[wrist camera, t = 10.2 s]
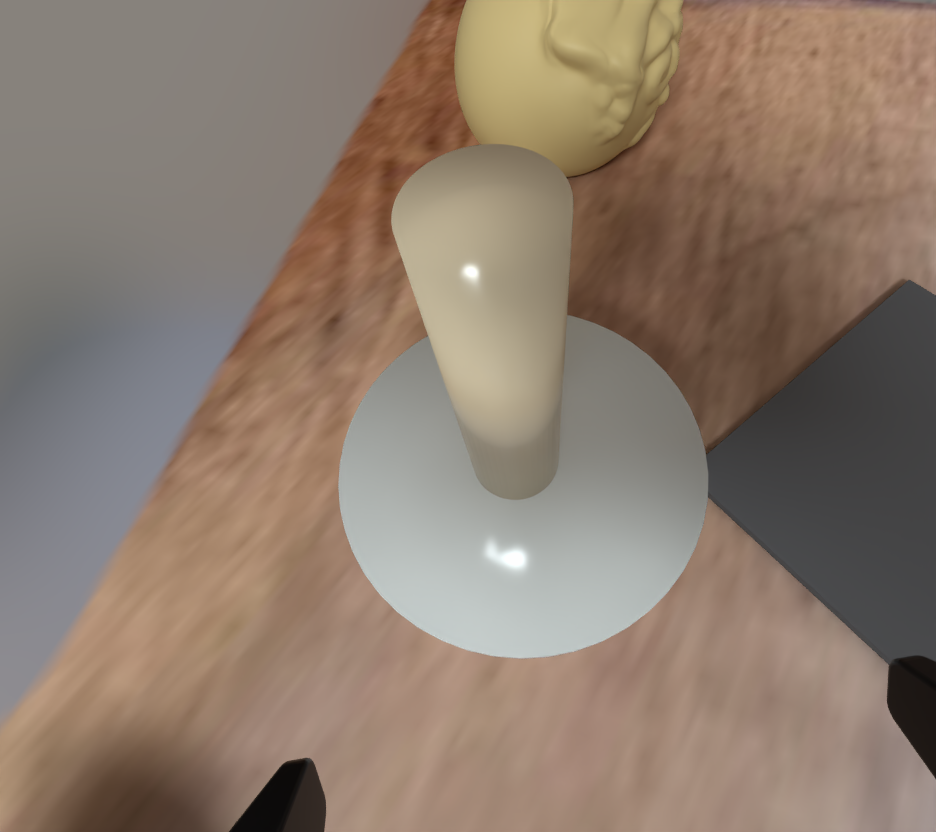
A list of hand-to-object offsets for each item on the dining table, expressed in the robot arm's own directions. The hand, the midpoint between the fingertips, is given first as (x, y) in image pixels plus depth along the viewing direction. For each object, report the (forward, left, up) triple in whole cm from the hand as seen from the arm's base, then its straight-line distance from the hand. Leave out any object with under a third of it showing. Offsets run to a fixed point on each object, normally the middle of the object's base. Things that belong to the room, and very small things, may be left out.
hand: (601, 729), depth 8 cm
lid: (+7, -4, -10) cm, 13 cm away
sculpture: (+23, -21, -14) cm, 34 cm away
